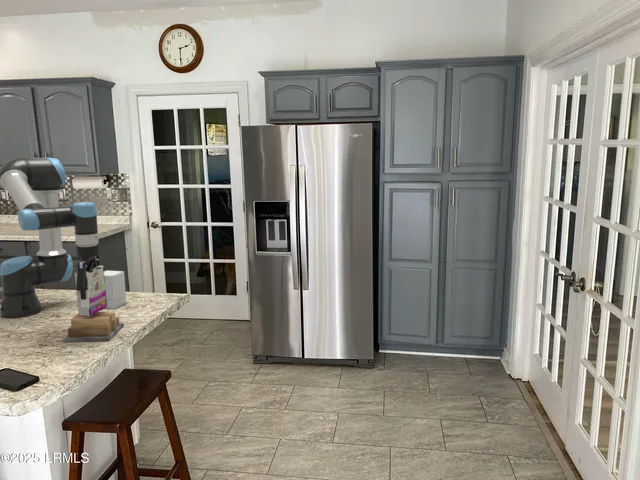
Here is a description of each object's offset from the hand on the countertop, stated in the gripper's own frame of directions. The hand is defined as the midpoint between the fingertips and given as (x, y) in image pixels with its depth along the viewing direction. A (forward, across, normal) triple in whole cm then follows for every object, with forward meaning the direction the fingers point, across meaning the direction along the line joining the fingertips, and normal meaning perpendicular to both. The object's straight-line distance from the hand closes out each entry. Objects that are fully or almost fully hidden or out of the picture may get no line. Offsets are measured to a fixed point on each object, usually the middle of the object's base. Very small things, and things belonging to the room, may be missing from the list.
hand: (92, 302), depth 184 cm
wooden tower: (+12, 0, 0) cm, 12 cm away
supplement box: (+12, +35, +6) cm, 38 cm away
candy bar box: (+4, 0, 0) cm, 4 cm away
